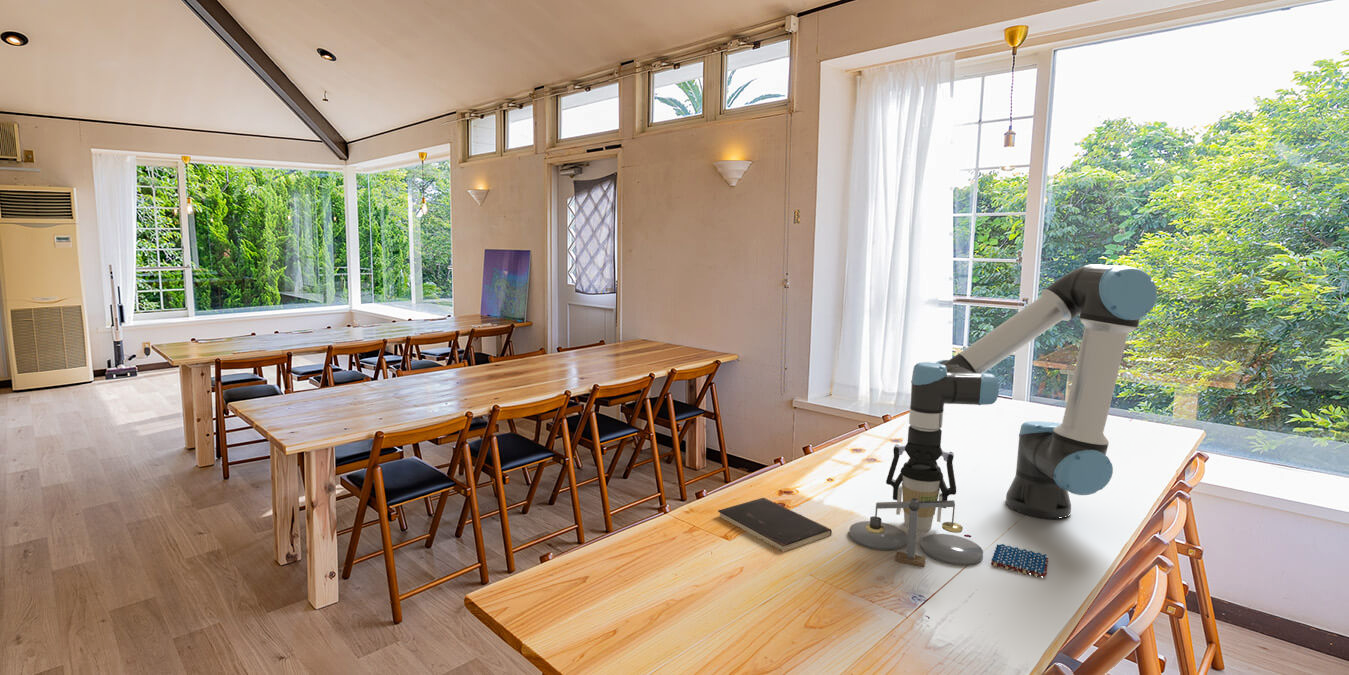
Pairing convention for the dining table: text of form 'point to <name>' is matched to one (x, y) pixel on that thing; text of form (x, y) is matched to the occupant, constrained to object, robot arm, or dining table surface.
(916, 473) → the coffee cup
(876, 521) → the balance
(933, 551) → the grey flat disc
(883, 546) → the dish low side
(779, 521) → the hardcover book
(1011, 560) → the woven mat
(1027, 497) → the robot arm
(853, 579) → the dining table surface
